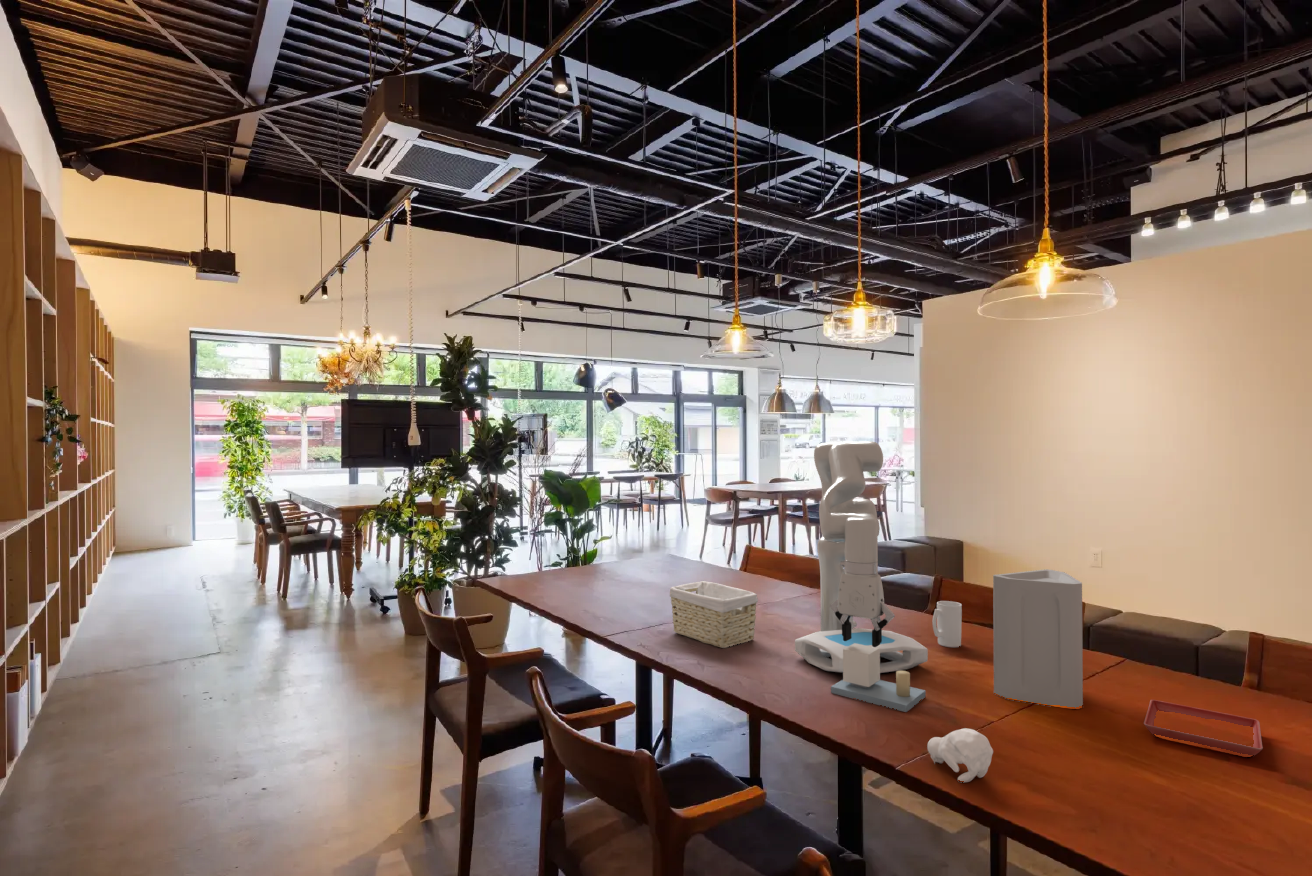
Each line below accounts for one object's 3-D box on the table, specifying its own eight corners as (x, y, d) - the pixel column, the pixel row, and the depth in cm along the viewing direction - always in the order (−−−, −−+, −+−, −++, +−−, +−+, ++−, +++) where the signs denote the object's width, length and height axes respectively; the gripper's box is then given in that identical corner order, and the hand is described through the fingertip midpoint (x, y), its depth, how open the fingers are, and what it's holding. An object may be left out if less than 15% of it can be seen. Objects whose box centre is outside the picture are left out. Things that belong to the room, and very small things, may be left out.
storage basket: (760, 641, 206) (760, 592, 206) (722, 652, 195) (722, 600, 195) (704, 624, 224) (704, 579, 224) (667, 634, 213) (667, 586, 213)
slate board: (852, 679, 172) (852, 653, 172) (925, 696, 160) (925, 669, 160) (831, 692, 163) (830, 665, 163) (906, 712, 151) (906, 682, 151)
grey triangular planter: (1049, 716, 149) (1048, 587, 149) (992, 693, 162) (991, 575, 163) (1107, 703, 156) (1106, 580, 156) (1048, 682, 170) (1047, 569, 170)
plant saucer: (1150, 712, 151) (1150, 697, 151) (1259, 735, 140) (1259, 718, 140) (1143, 740, 137) (1143, 724, 137) (1263, 767, 126) (1263, 749, 126)
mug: (948, 640, 206) (948, 600, 206) (967, 646, 200) (966, 604, 200) (923, 644, 201) (923, 603, 202) (942, 650, 195) (942, 608, 195)
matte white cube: (854, 674, 168) (854, 643, 169) (879, 679, 164) (879, 648, 164) (843, 681, 164) (843, 649, 164) (868, 687, 159) (868, 654, 159)
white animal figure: (970, 738, 118) (915, 720, 128) (974, 790, 117) (919, 767, 127) (995, 731, 120) (939, 713, 131) (999, 781, 120) (943, 760, 130)
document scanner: (929, 667, 179) (929, 643, 180) (841, 678, 169) (840, 652, 169) (876, 647, 199) (876, 625, 199) (793, 656, 189) (793, 633, 189)
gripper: (820, 566, 167) (821, 639, 167) (890, 575, 156) (890, 653, 156) (834, 562, 173) (835, 633, 173) (903, 570, 161) (903, 646, 161)
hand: (861, 642), depth 164 cm, fingers open, 6 cm apart
